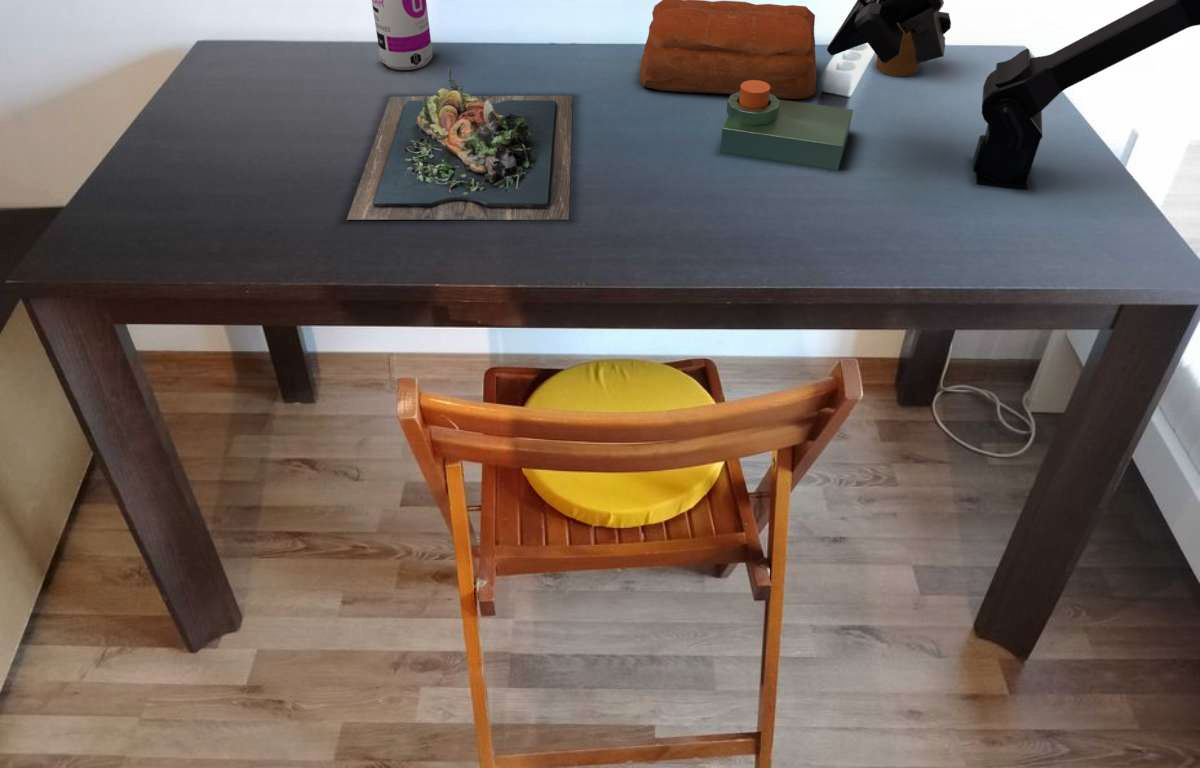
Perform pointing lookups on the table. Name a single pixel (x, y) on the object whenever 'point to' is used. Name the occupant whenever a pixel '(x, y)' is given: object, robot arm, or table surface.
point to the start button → (754, 94)
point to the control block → (787, 132)
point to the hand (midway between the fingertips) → (829, 51)
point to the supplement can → (403, 33)
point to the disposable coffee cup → (902, 58)
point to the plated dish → (469, 159)
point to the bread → (730, 48)
